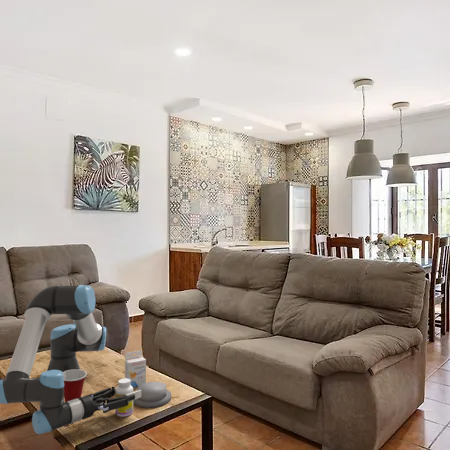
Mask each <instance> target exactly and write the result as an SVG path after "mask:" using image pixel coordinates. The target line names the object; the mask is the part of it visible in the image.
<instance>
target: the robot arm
mask: <svg viewBox="0 0 450 450" xmlns="http://www.w3.org/2000/svg"><path fill="white" fill-rule="evenodd" d="M95 293H96V292H95V291H94V288H93V287H92V286H90V285H88V284H87V285H86V284H85V285H84V284H79V285H51V286H47V287H45V288H43V289H41V290H40V291H39V292H37V294H35V295H34V297H32V299H31V300H30V301H29V302H28V304H27V306H26V309H25V311H24V313H23V315H24V319H25V320H24V323H23V325H22V328H21V331H20V334H19V337H18V340H17V343H16V345H15V348H14V351H13V354H12V357H11V359H10V363H9V365H8V368H7V371H6V374H5V378H4V379H3V378H1V379H0V404H5V405H8V404H15V403H16V404H17V403H18V404H19V403H36V402H38V403H39V409H38V410H35V411H34V412H33V414H32V418H31V421H32V422H31V424H32V428H33V430H34V432H35V433H36V434H37V435H43V434H46V433H50V432H53V431H55V430H57V429H60V428H64V427H65V426H68V425H73V424H75V423H77V422H80V421H81V420H86V419H89V418H91V417H93V415H94V414H95V412H97V411H98V412H99V411H102V413H103V414H107V412H110V411H113V410H114V411H115V410H116V409H117V408H121V407H124V406H128V402H129V401H132V400H135V399H138V398H140V397H141V390H138V389H137V390H135V391H133V392H132V393H129V394H126V396H123V397H117V398H116V388H115V386H111V387H107V388H104V389H102V390H99V391H97V392H94V393H91V394H87V395H84V396H81V397H80V398H78V399H73V400H70V401H67V402H65V399H64V377H63V372H64V371H67V370H74V369H77V370H81V369H80V367H81V366H80V364H79V361H78V358H77V353H80V352H81V353H82V352H83V353H84V352H86V353H87V352H100V351H104V350H105V348H106V341H107V327H106V326H101V325H100V324H99V323H97V322H96V320H95V316H94V315H93V312H94V311H95V308H96V300H97V299H96V296H95V295H96V294H95ZM52 315H65V316H66V317H67V319H69V320H72V322H73V323H69V324H63V325H59V326H57V327H54V328H53V329H52V330H51V332H50V338H49V340H50V360H49V363H48V366H47V370H46V371H43V372H42V373H41V374H40V375H39V377H31V373H32V369H33V367H34V363H35V360H36V356H37V352H38V350H39V347H40V343H41V341H42V336H43V334H44V330H45V326H46V323H47V322H48V321H50V319H51V316H52ZM30 377H31V378H30ZM130 385H131V384H130ZM114 396H115V397H114Z"/></svg>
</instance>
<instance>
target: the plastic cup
mask: <svg viewBox="0 0 450 450" xmlns="http://www.w3.org/2000/svg"><path fill="white" fill-rule="evenodd" d="M87 373H88V372H87V371H85V370H83V369H80V370H77V369H74V370H67V371H64V372H63V377H64V402H67V401H70V400H73V399H78V398H80V397H82V393H83V388H84V384H85V383H84V382H85V380H86V377H87V375H88V374H87Z"/></svg>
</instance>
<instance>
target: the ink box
mask: <svg viewBox="0 0 450 450" xmlns="http://www.w3.org/2000/svg"><path fill="white" fill-rule="evenodd" d="M124 354H125V359H124V379H125V378H127V379H130V380H131V383H130V384H131V386H132V387H133V388H136V387H137V388H138V386H140V385H141V384H144V383H147V359H146V358H144V356H143V350H136V351H129V352H126V353H124Z"/></svg>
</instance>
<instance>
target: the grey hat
mask: <svg viewBox="0 0 450 450" xmlns="http://www.w3.org/2000/svg"><path fill="white" fill-rule="evenodd" d="M138 390H141V397H140V398H138V399H135V400H133V405H135V406H136V407H139V408H144V409H145V408H147V409H153V408H160V407H162V406H165V405H167V404H168V403H170V401H171V400H172V393H171V391H170V390H168V389H167V384H165V383H164V382H161V381H149V382H148V381H146V383H144V384H141V385H140V386H137V391H138Z"/></svg>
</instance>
